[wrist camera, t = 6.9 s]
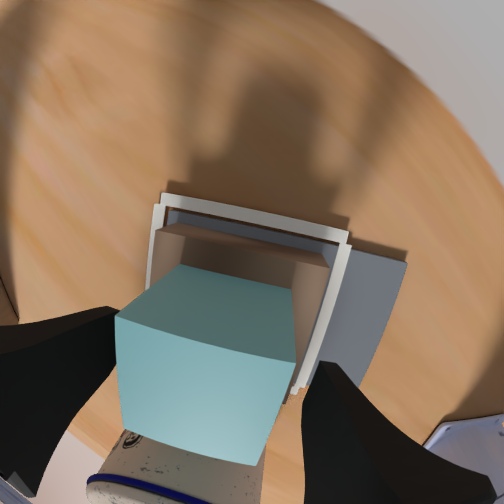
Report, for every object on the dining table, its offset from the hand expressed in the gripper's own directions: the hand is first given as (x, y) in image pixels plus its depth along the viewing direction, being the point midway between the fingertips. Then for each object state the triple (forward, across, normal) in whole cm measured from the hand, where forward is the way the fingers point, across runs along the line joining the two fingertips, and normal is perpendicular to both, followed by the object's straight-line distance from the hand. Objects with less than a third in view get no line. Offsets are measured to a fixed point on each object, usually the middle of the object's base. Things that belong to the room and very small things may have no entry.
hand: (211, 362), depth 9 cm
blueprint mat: (+5, -2, 0) cm, 6 cm away
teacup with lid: (+6, +1, +11) cm, 12 cm away
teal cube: (+2, 0, 0) cm, 3 cm away
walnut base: (+5, 0, 0) cm, 5 cm away
